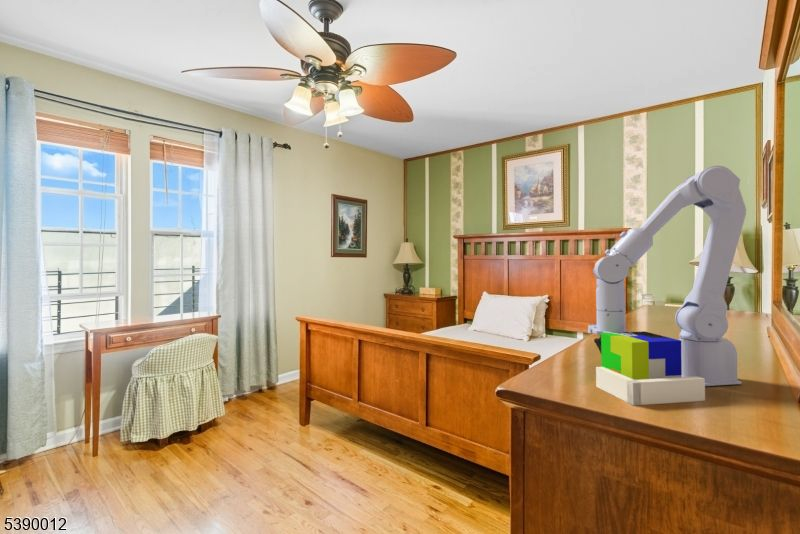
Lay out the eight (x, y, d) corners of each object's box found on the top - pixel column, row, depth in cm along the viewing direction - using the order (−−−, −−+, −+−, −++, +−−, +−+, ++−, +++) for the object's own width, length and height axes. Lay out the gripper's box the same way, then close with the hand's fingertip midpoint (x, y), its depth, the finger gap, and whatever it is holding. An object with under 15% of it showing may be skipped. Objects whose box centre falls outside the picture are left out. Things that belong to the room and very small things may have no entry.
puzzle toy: (681, 392, 76) (681, 340, 76) (632, 394, 75) (631, 342, 75) (645, 377, 86) (644, 331, 86) (601, 379, 85) (601, 332, 85)
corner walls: (659, 382, 82) (659, 363, 82) (705, 400, 71) (704, 378, 71) (596, 386, 80) (595, 367, 80) (633, 405, 70) (632, 382, 70)
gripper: (575, 307, 95) (576, 363, 95) (614, 314, 80) (616, 381, 80) (603, 306, 95) (604, 362, 95) (647, 313, 81) (648, 379, 81)
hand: (611, 370), depth 88 cm, fingers closed
